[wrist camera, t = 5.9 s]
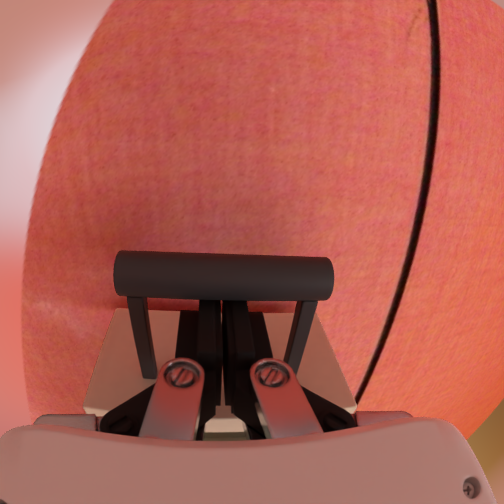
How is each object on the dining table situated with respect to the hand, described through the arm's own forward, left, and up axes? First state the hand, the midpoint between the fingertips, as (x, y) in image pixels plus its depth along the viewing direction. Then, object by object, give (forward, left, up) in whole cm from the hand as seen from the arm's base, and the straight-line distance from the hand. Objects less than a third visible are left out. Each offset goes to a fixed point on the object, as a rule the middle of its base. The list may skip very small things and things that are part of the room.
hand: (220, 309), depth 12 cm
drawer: (+4, -5, -3) cm, 7 cm away
